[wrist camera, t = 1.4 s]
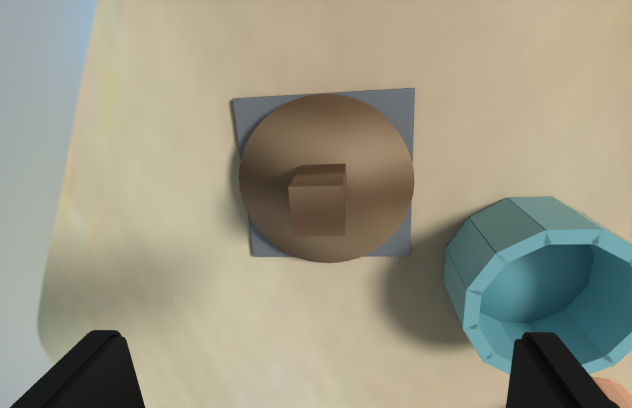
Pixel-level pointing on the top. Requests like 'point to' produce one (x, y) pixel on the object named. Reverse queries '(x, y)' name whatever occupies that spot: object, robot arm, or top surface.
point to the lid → (326, 178)
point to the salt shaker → (615, 392)
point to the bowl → (541, 281)
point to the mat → (387, 102)
